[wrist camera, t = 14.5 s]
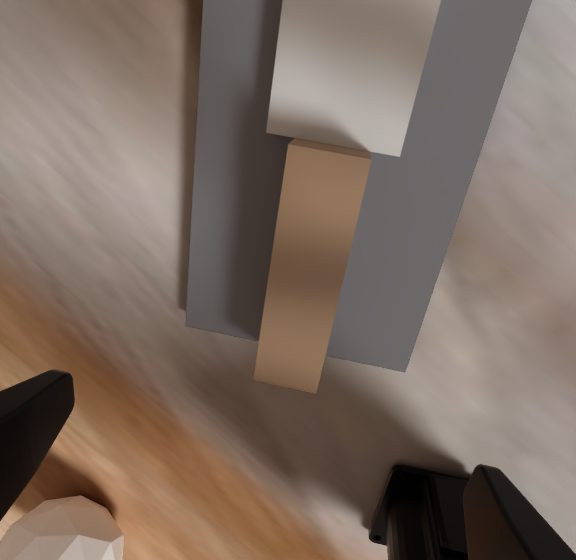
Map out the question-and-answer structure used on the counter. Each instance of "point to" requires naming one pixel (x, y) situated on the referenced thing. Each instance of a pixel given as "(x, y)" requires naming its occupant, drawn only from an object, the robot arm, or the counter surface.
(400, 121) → the two-tone stepped block
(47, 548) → the ball
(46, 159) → the counter surface
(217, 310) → the mat
